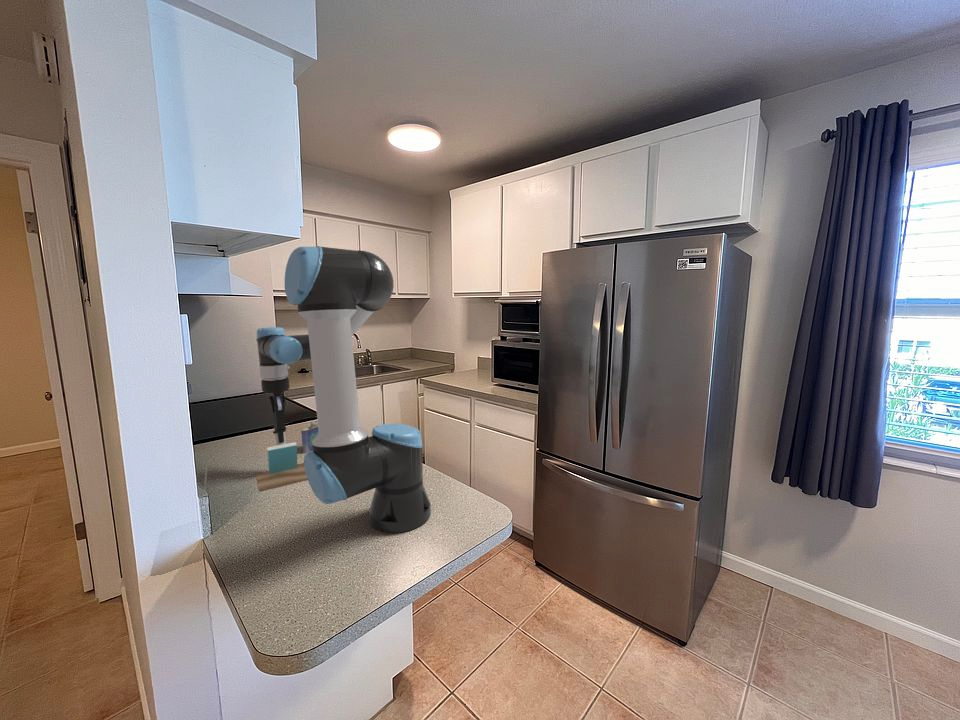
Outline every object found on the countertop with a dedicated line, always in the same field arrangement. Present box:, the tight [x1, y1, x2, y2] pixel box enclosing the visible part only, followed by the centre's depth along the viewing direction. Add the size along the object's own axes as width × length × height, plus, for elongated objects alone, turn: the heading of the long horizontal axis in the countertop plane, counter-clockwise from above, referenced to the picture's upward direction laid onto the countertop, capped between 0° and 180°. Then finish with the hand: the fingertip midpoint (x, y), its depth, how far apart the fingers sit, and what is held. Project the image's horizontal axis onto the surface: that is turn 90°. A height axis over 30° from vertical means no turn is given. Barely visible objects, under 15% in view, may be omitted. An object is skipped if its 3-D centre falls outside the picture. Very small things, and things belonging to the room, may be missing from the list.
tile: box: [266, 441, 298, 474], centre depth 120 cm, size 2×8×9 cm, turn 125°
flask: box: [300, 420, 319, 454], centre depth 139 cm, size 9×3×11 cm, turn 146°
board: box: [255, 462, 308, 493], centre depth 118 cm, size 14×15×1 cm
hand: (281, 451), depth 121 cm, fingers closed
